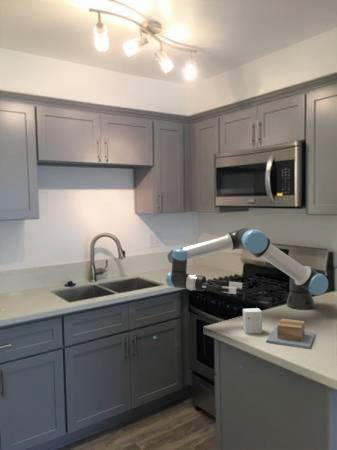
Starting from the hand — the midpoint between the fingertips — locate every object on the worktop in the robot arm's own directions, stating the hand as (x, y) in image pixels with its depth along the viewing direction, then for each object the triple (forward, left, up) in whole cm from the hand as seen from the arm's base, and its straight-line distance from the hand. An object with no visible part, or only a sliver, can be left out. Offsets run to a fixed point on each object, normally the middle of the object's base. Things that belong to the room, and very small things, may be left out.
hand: (239, 288), depth 180 cm
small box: (-1, +6, -21) cm, 21 cm away
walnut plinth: (+1, +24, -20) cm, 31 cm away
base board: (+1, +24, -20) cm, 31 cm away
